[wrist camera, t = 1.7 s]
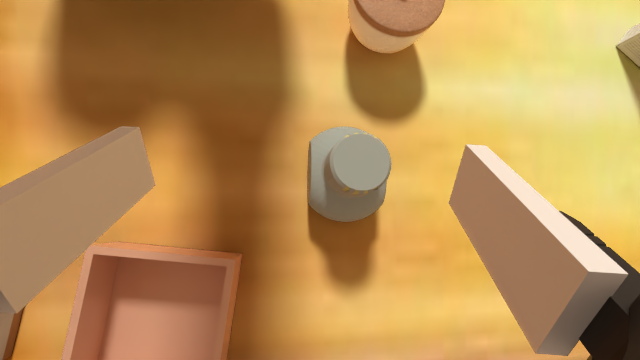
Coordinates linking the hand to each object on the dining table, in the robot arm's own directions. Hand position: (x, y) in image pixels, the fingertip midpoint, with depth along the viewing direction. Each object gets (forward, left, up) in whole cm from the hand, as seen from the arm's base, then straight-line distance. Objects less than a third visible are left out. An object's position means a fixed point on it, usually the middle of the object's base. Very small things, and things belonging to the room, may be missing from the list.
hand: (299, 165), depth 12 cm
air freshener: (+3, +7, -24) cm, 25 cm away
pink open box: (-2, -17, -24) cm, 29 cm away
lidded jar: (-6, +26, -24) cm, 36 cm away
